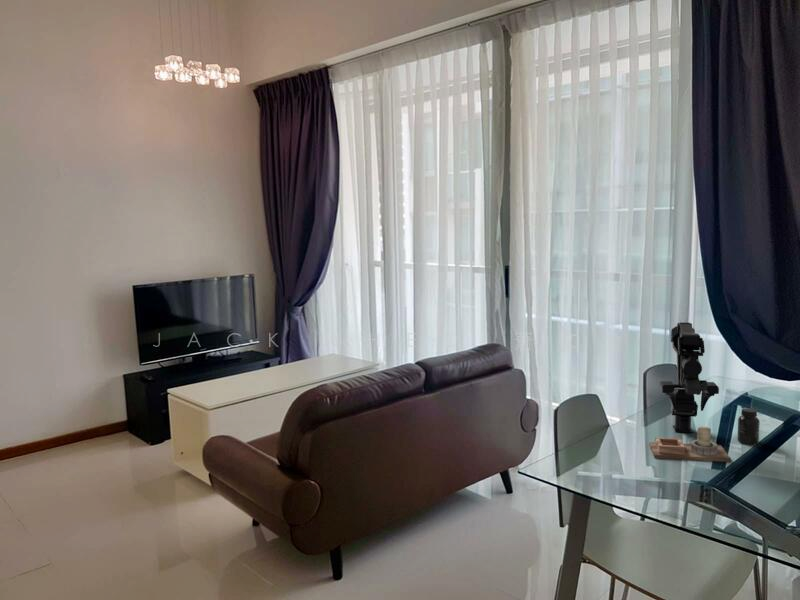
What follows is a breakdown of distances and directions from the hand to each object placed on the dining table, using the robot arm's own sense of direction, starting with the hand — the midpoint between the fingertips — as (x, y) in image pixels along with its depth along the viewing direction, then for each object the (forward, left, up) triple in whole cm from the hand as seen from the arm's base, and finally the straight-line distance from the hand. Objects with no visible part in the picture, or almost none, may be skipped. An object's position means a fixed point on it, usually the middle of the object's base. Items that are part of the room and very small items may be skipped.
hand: (688, 410), depth 223 cm
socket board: (+9, -2, -13) cm, 16 cm away
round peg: (+9, +3, -12) cm, 15 cm away
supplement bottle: (-5, +21, -13) cm, 26 cm away
